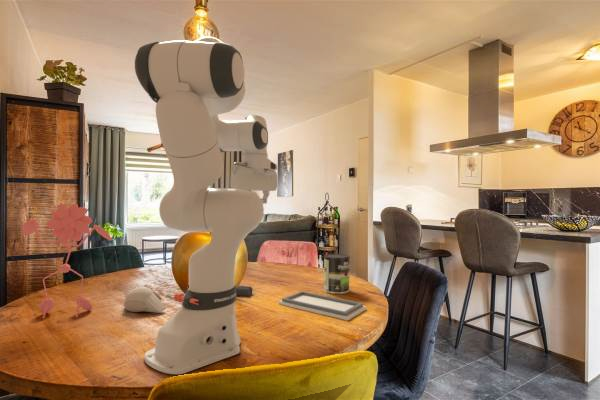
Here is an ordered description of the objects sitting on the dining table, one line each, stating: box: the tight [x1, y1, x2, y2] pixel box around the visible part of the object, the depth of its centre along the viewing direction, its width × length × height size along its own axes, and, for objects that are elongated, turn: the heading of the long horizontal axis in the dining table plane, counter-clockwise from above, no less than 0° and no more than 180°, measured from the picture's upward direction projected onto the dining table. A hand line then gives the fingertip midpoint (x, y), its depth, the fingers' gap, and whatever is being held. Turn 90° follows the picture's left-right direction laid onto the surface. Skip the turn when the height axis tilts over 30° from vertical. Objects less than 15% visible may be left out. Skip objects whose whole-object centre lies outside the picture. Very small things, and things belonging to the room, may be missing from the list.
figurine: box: [21, 203, 112, 319], centre depth 107 cm, size 15×26×35 cm, turn 100°
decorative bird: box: [123, 286, 167, 314], centre depth 108 cm, size 9×16×8 cm, turn 58°
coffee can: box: [323, 253, 350, 295], centre depth 134 cm, size 10×10×14 cm
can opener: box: [236, 285, 253, 297], centre depth 128 cm, size 19×6×5 cm
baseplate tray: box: [278, 290, 367, 322], centre depth 114 cm, size 13×27×2 cm, turn 54°
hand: (254, 203), depth 116 cm, fingers open, 8 cm apart
